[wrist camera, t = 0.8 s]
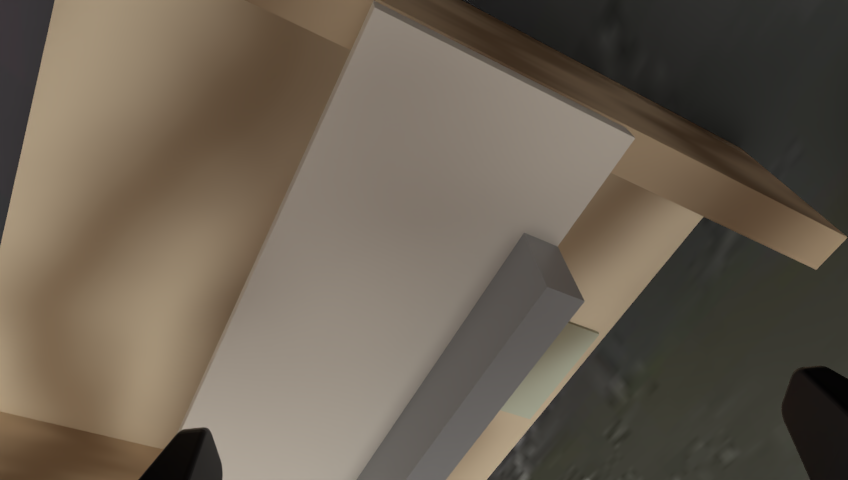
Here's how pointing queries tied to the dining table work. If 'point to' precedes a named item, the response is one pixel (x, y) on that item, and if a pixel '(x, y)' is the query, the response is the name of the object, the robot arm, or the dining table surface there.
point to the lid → (405, 266)
